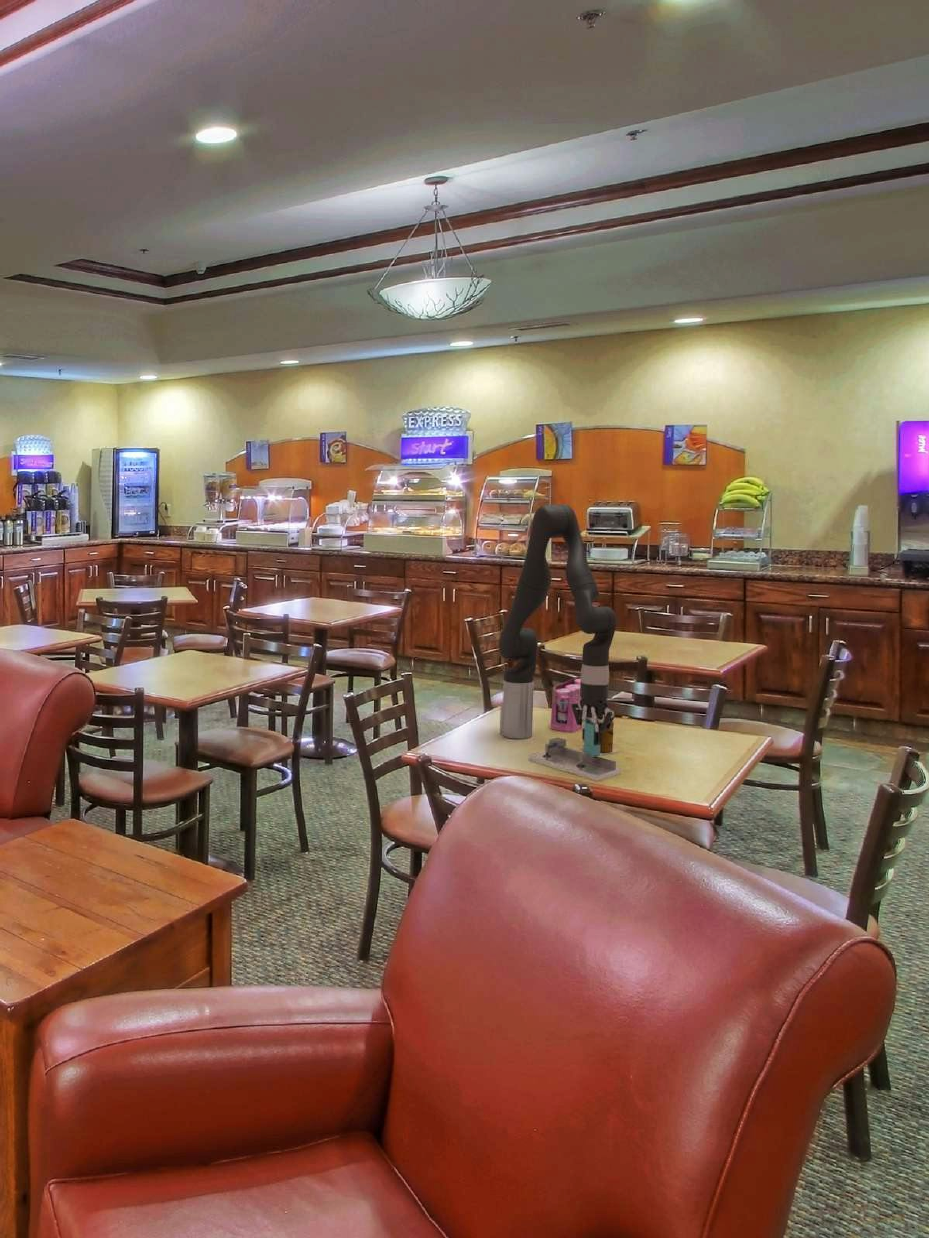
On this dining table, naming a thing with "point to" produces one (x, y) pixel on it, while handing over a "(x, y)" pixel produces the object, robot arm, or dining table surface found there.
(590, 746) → the leg
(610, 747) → the condiment
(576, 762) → the hole plate
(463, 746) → the dining table surface
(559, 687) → the gum box
